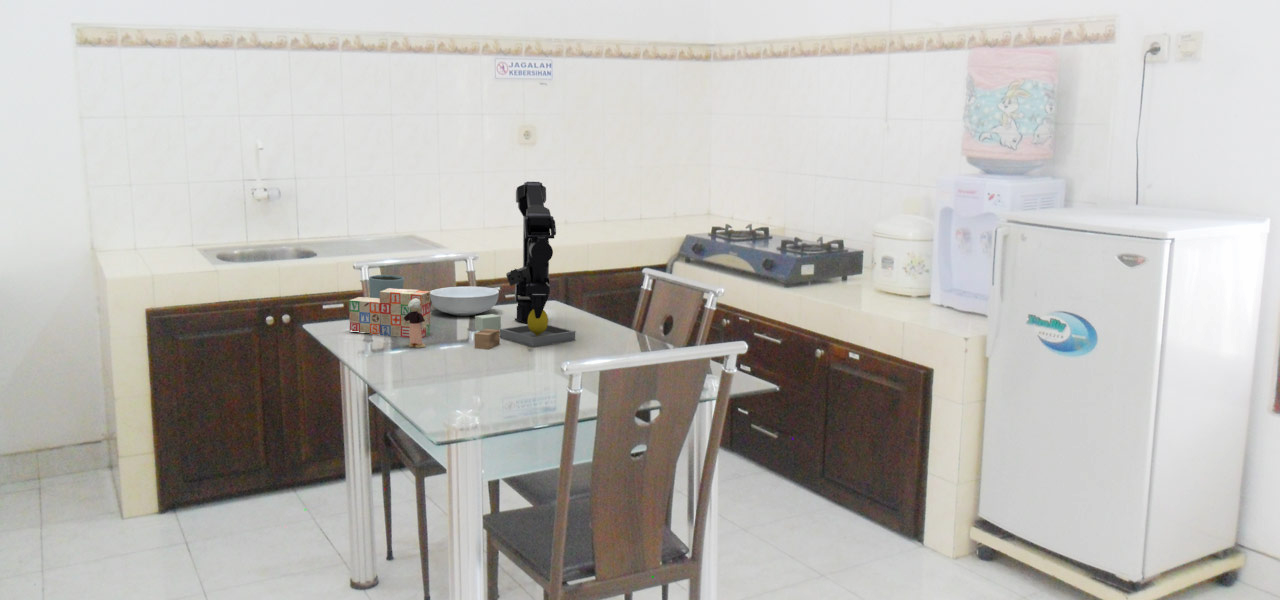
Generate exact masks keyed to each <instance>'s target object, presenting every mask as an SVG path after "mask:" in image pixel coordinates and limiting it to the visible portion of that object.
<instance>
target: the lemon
mask: <svg viewBox="0 0 1280 600" xmlns="http://www.w3.org/2000/svg"><path fill="white" fill-rule="evenodd" d="M527 325H528V327H529V329H530V331H531V332H533V333H534V334H535V335H536V336H539V335H540V334H541V333H543V332H544V331H545V330H546V328H547V326H548V325H549V318H548V314H547V312H546V310H544V309H543V311H542V314H541V316H540V318H536V317H535V312H534V309H533V310H532V311H531V312H530V314H529V316H528V323H527Z"/></svg>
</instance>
